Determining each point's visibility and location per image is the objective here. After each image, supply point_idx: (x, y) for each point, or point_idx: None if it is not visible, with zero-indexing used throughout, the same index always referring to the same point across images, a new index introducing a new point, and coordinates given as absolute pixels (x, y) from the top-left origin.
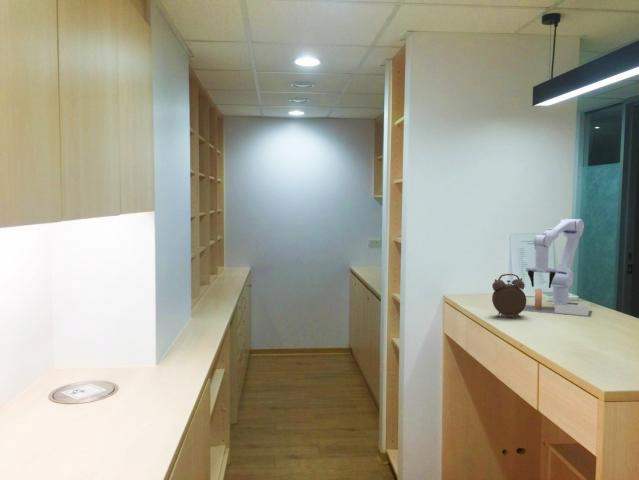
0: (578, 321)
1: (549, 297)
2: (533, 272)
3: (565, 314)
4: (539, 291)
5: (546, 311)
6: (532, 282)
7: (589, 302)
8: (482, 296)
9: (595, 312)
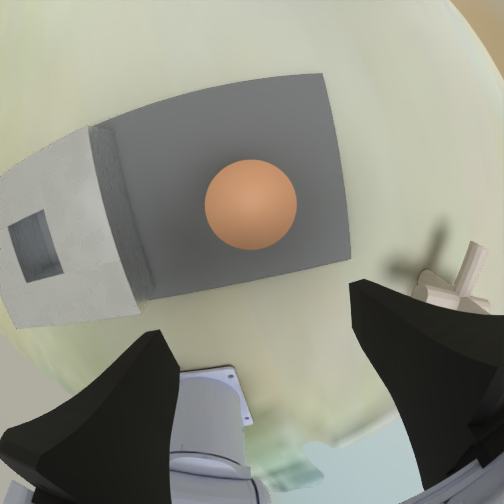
0: (13, 78)
1: (288, 450)
2: (455, 460)
3: None
4: (224, 168)
5: (169, 142)
6: (387, 298)
7: (17, 328)
8: None
9: None
